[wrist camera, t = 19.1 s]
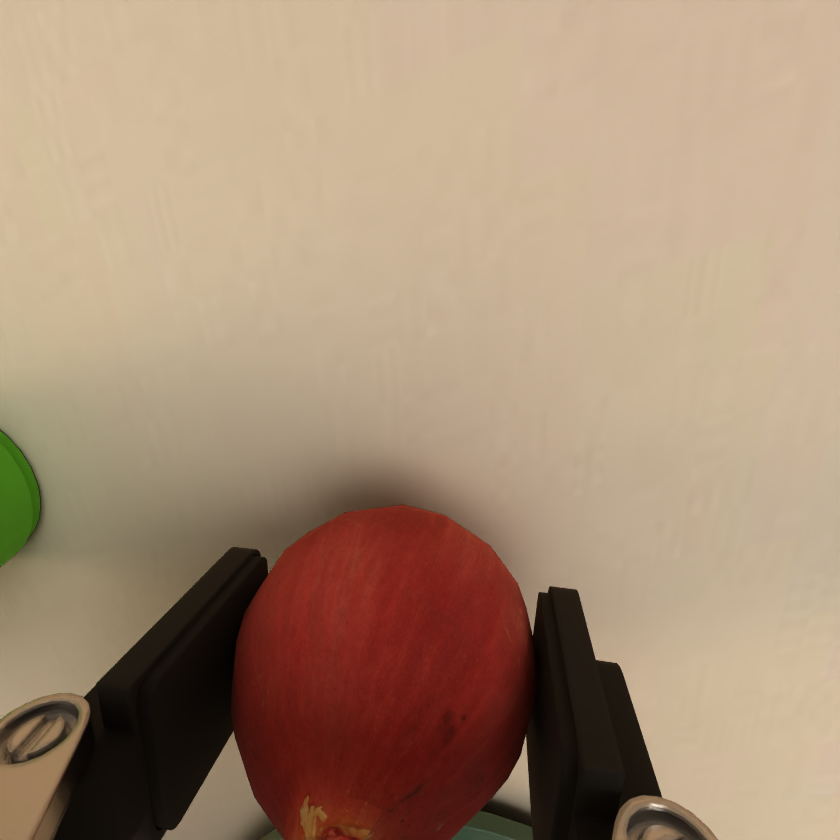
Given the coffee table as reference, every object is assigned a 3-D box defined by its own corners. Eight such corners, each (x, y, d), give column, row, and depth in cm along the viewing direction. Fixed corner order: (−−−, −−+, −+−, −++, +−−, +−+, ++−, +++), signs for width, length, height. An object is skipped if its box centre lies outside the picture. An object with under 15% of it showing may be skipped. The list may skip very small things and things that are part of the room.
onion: (540, 636, 13) (598, 1101, 6) (344, 651, 15) (180, 1056, 7) (504, 438, 12) (519, 710, 4) (291, 472, 13) (13, 734, 6)
